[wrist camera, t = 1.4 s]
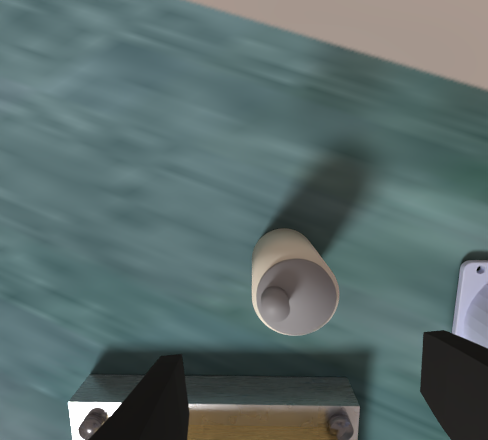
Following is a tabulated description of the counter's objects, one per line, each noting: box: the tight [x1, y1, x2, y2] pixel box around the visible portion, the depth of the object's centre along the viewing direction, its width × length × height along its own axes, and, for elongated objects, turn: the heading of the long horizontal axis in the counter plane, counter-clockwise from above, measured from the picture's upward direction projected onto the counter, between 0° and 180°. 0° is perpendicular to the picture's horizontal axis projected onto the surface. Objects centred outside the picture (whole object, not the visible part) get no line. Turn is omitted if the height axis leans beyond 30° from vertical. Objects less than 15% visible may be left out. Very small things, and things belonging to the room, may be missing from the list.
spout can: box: [252, 228, 339, 335], centre depth 16 cm, size 4×4×7 cm
